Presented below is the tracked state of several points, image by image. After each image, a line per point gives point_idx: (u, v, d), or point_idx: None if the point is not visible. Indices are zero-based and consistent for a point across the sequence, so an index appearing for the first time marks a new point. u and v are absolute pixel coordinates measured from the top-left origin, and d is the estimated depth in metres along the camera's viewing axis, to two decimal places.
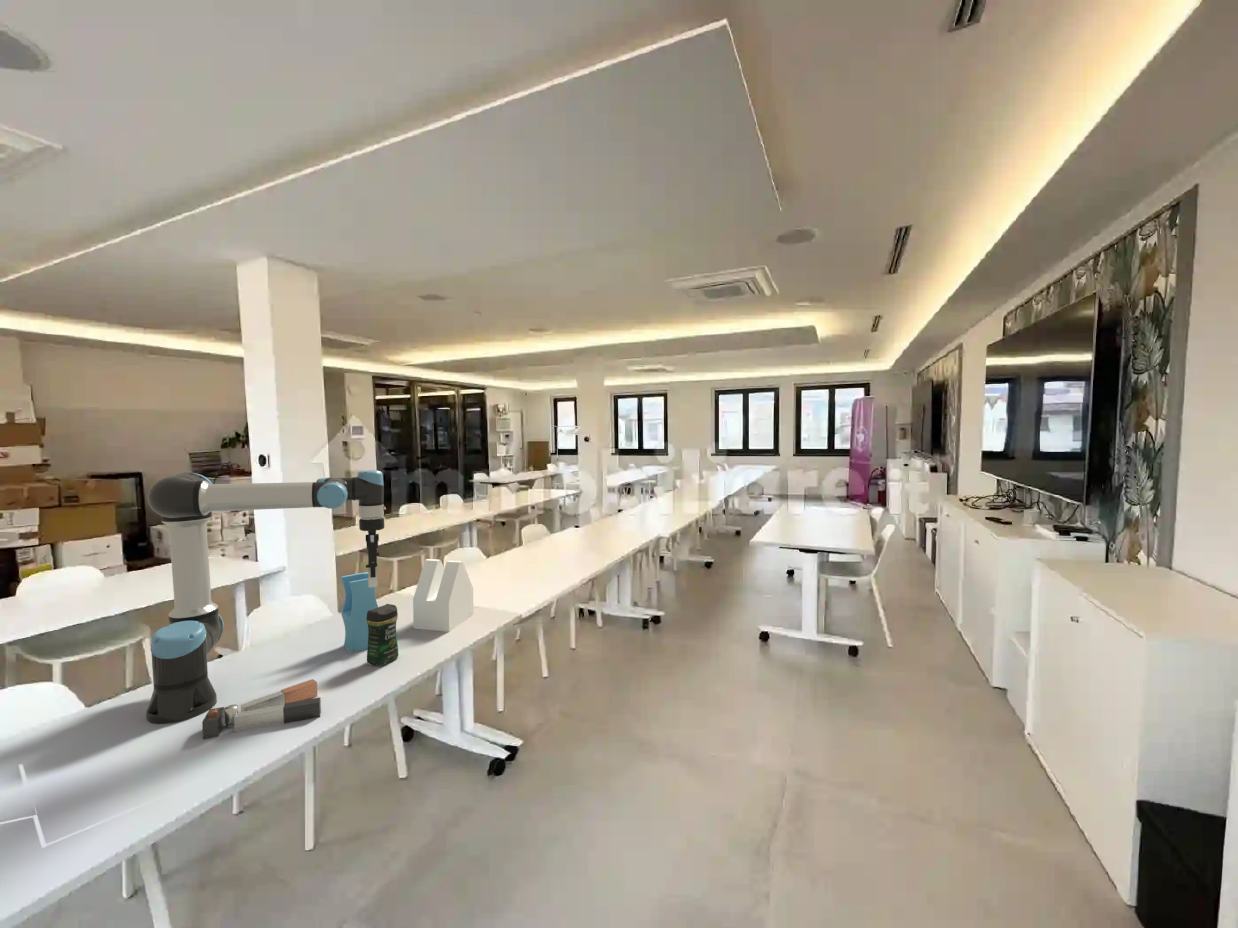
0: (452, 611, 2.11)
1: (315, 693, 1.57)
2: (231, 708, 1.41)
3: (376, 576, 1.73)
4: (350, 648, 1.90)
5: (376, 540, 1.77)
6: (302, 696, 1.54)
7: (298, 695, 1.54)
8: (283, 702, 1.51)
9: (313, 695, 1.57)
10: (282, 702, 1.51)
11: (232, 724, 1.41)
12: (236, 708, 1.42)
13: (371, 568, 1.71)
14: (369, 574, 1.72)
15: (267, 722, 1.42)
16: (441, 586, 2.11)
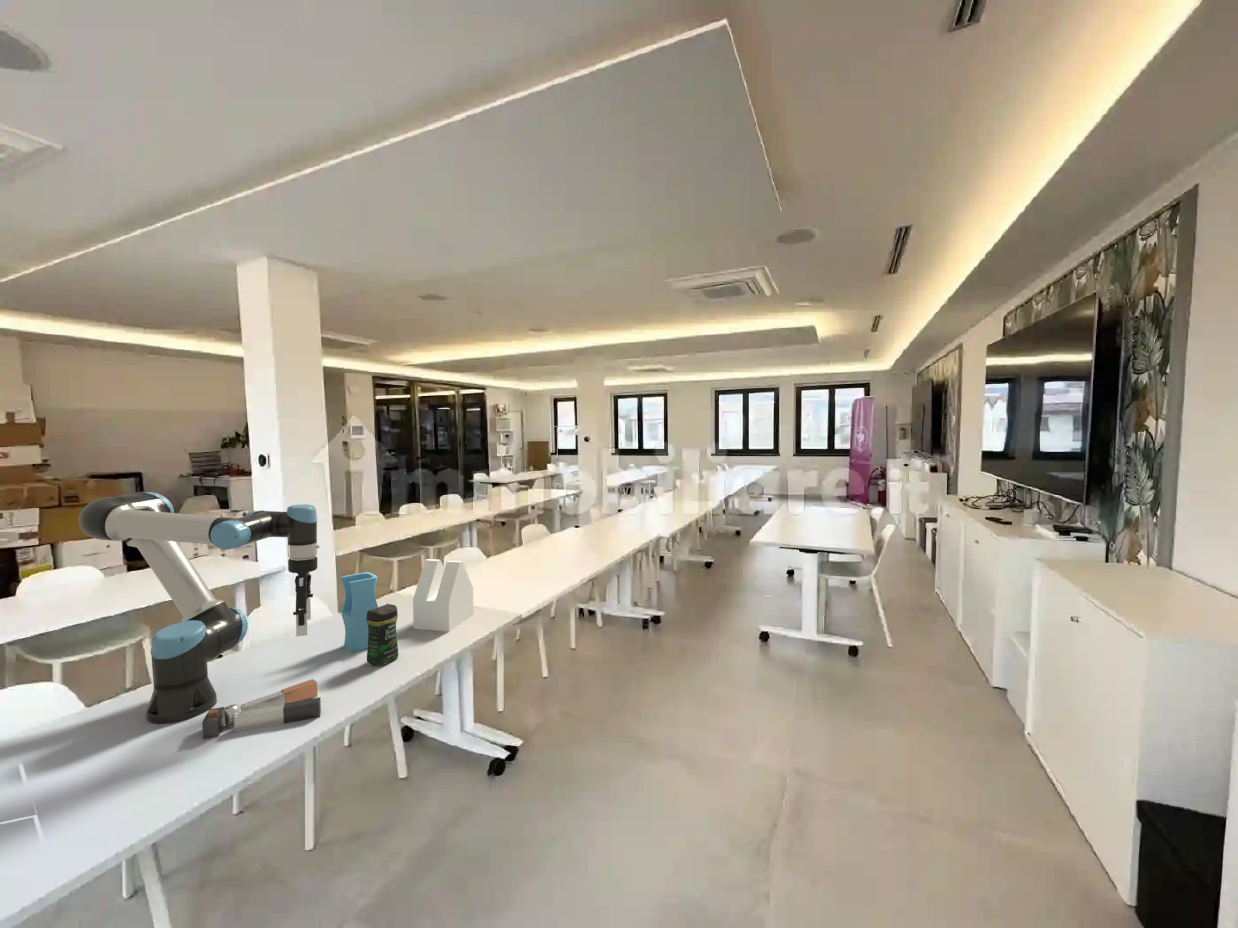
0: (452, 611, 2.11)
1: (315, 693, 1.57)
2: (231, 708, 1.41)
3: (305, 624, 1.56)
4: (350, 648, 1.90)
5: (307, 583, 1.59)
6: (302, 696, 1.54)
7: (298, 695, 1.54)
8: (283, 702, 1.51)
9: (313, 695, 1.57)
10: (282, 702, 1.51)
11: (232, 724, 1.41)
12: (236, 708, 1.42)
13: (299, 615, 1.54)
14: (297, 622, 1.55)
15: (267, 722, 1.42)
16: (441, 586, 2.11)
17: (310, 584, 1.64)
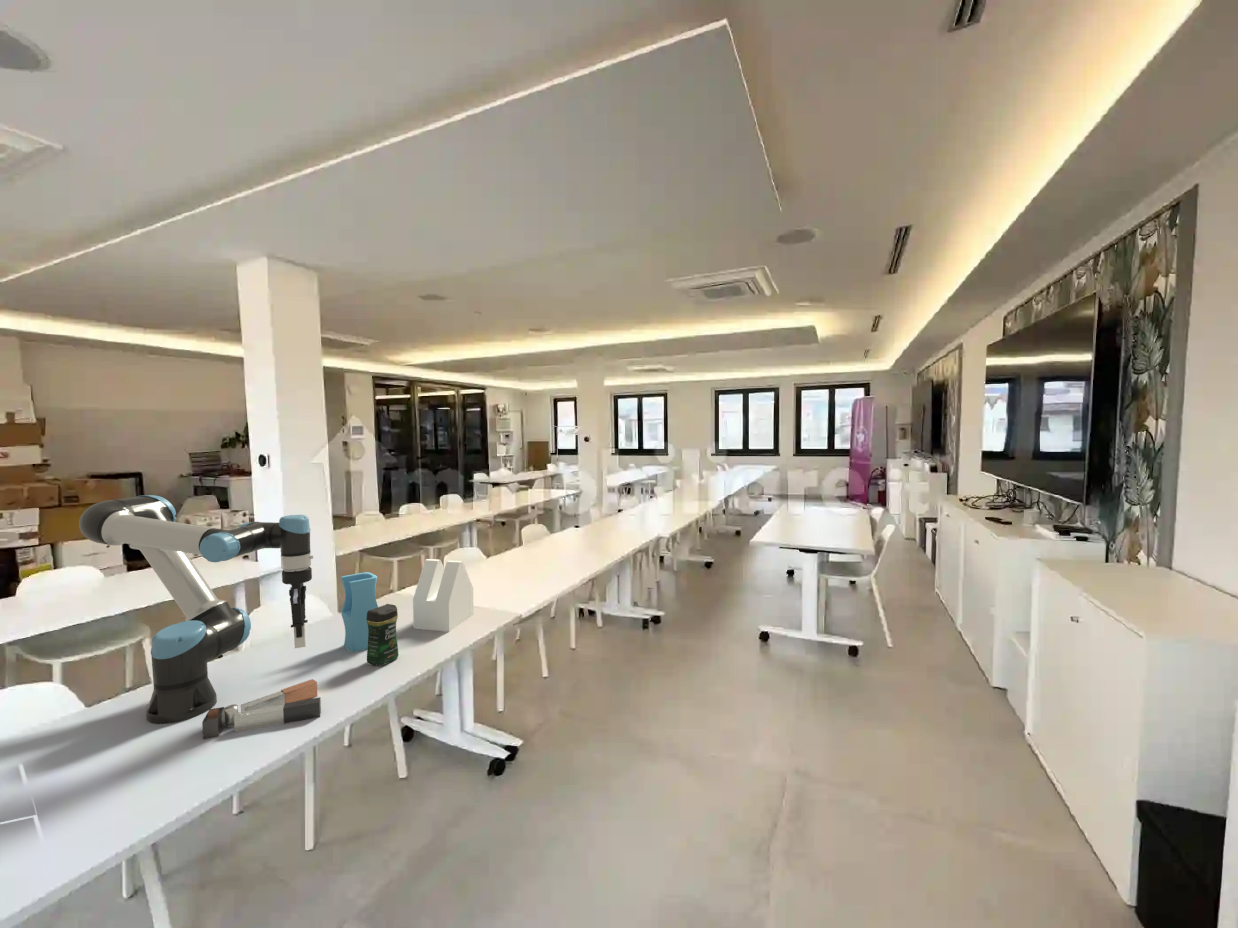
0: (452, 611, 2.11)
1: (315, 693, 1.57)
2: (231, 708, 1.41)
3: (303, 636, 1.60)
4: (350, 648, 1.90)
5: (302, 595, 1.58)
6: (302, 696, 1.54)
7: (298, 695, 1.54)
8: (283, 702, 1.51)
9: (313, 695, 1.57)
10: (282, 702, 1.51)
11: (232, 724, 1.41)
12: (236, 708, 1.42)
13: (297, 628, 1.58)
14: (295, 634, 1.59)
15: (267, 722, 1.42)
16: (441, 586, 2.11)
17: (305, 598, 1.61)
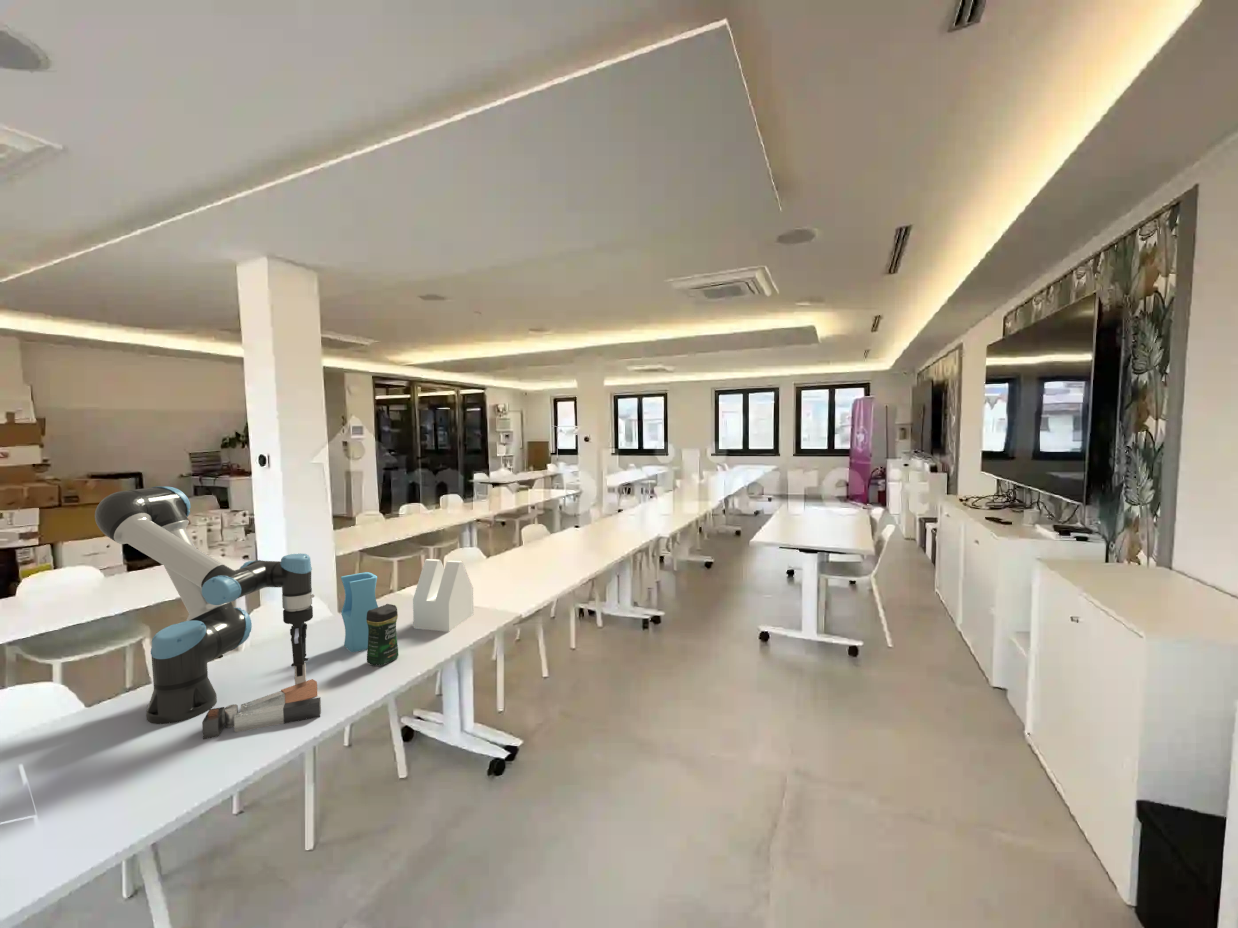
0: (452, 611, 2.11)
1: (315, 693, 1.57)
2: (231, 708, 1.41)
3: (304, 674, 1.61)
4: (350, 648, 1.90)
5: (303, 634, 1.59)
6: (302, 696, 1.54)
7: (298, 695, 1.54)
8: (283, 702, 1.51)
9: (313, 695, 1.57)
10: (282, 702, 1.51)
11: (232, 724, 1.41)
12: (236, 708, 1.42)
13: (297, 666, 1.59)
14: (296, 672, 1.60)
15: (267, 722, 1.42)
16: (441, 586, 2.11)
17: (305, 637, 1.62)
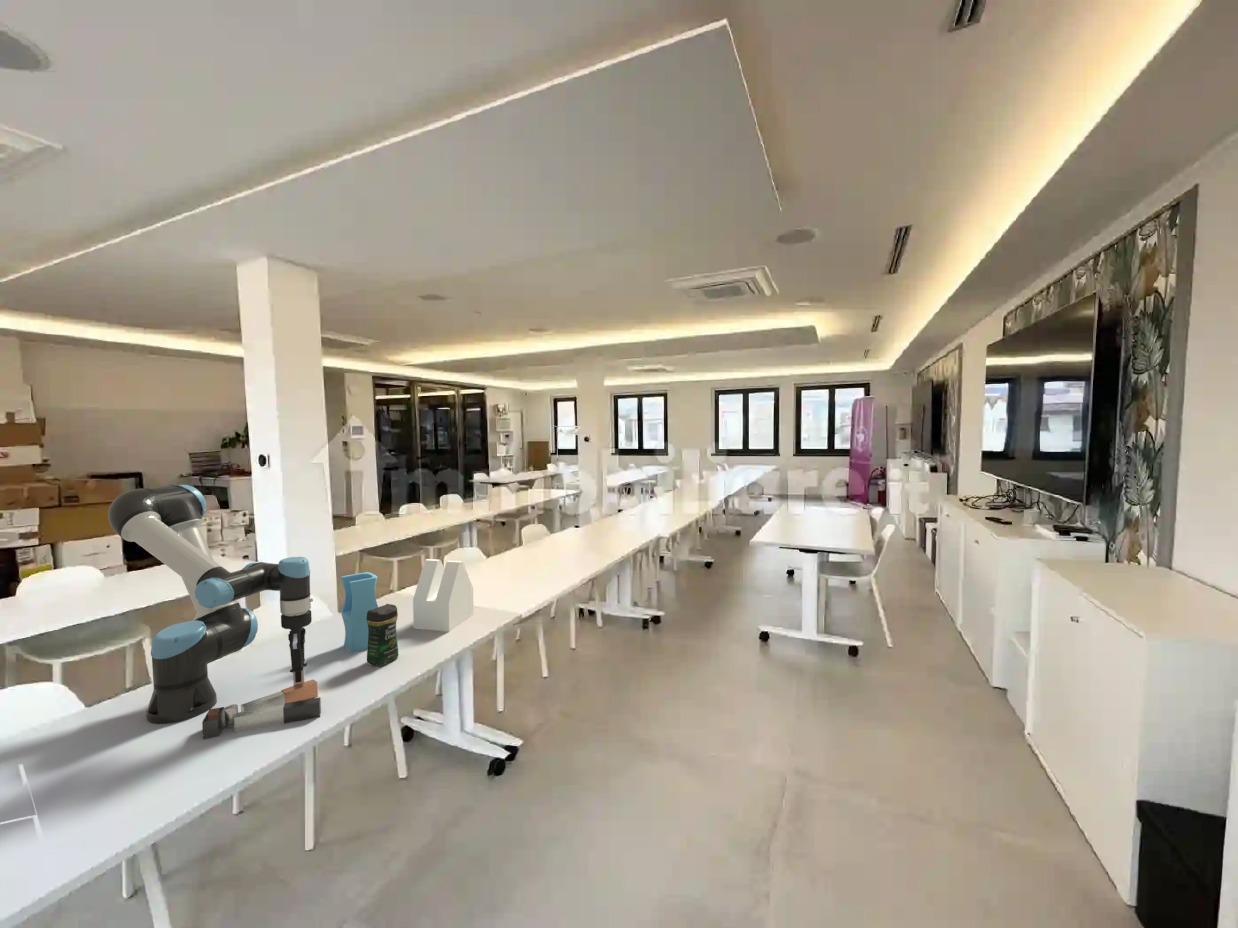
0: (452, 611, 2.11)
1: (315, 693, 1.57)
2: (231, 708, 1.41)
3: (302, 680, 1.57)
4: (350, 648, 1.90)
5: (301, 640, 1.55)
6: (302, 696, 1.54)
7: (298, 696, 1.54)
8: (283, 702, 1.51)
9: (313, 695, 1.57)
10: (282, 702, 1.51)
11: (232, 724, 1.41)
12: (236, 708, 1.42)
13: (296, 672, 1.55)
14: (294, 678, 1.56)
15: (267, 722, 1.42)
16: (441, 586, 2.11)
17: (304, 642, 1.58)
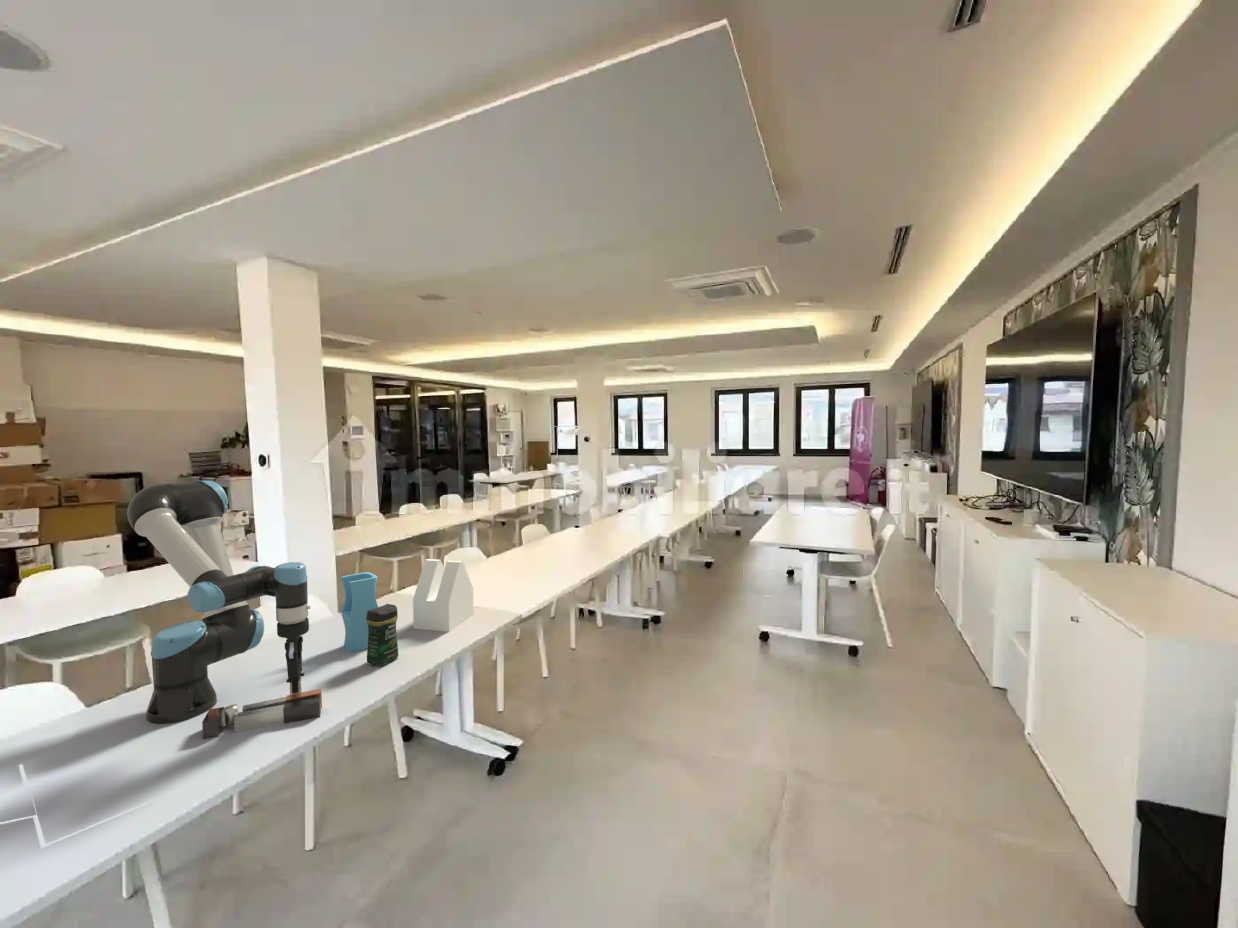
0: (452, 611, 2.11)
1: None
2: (229, 709, 1.41)
3: (299, 690, 1.51)
4: (350, 648, 1.90)
5: (298, 649, 1.49)
6: None
7: None
8: None
9: None
10: None
11: (230, 725, 1.41)
12: (234, 709, 1.42)
13: (293, 683, 1.49)
14: (291, 689, 1.50)
15: (267, 722, 1.42)
16: (441, 586, 2.11)
17: (301, 651, 1.52)
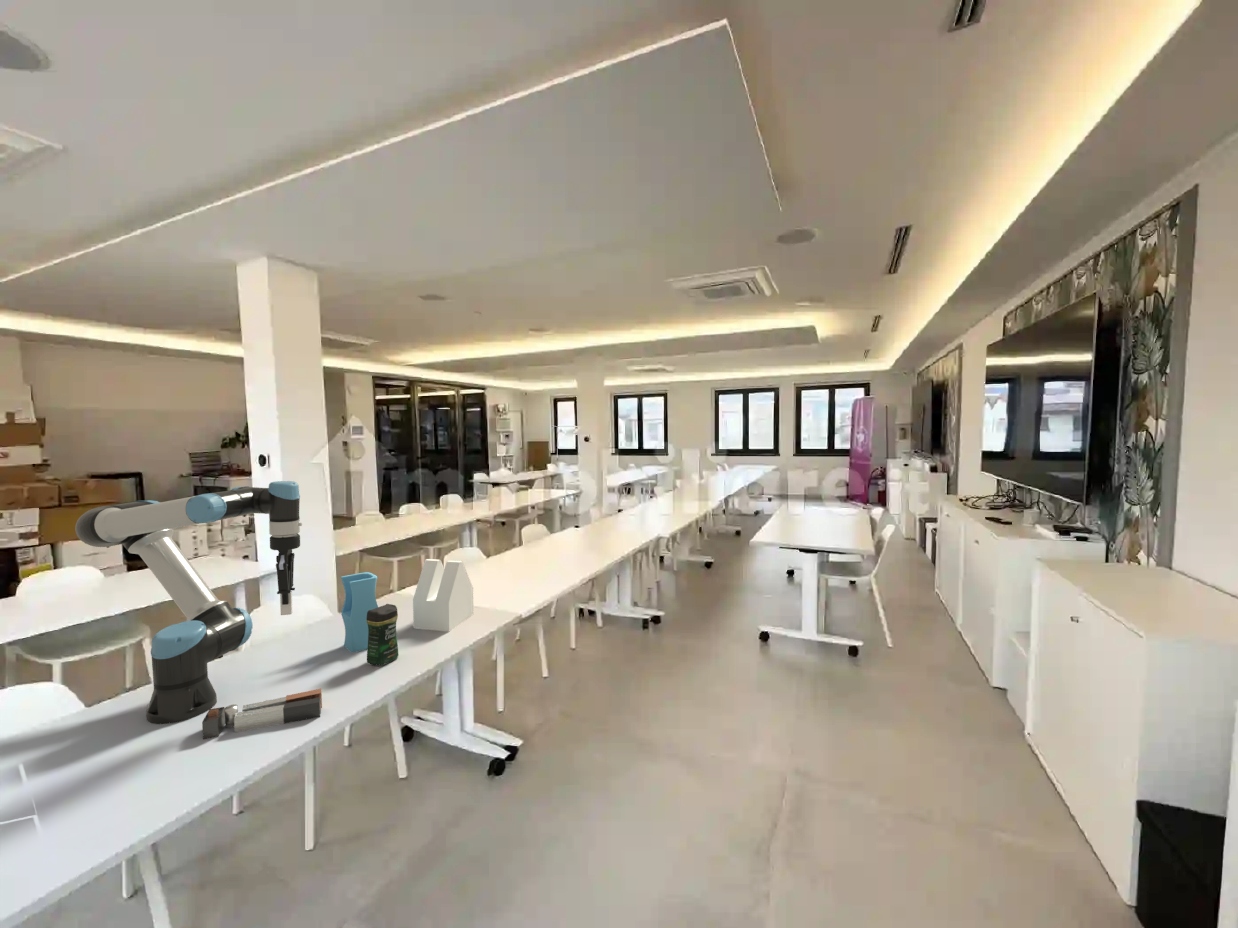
0: (452, 611, 2.11)
1: None
2: (229, 709, 1.41)
3: (289, 603, 1.59)
4: (350, 648, 1.90)
5: (289, 562, 1.57)
6: None
7: None
8: None
9: None
10: None
11: (230, 725, 1.41)
12: (234, 709, 1.42)
13: (283, 594, 1.57)
14: (281, 601, 1.58)
15: (267, 722, 1.42)
16: (441, 586, 2.11)
17: (292, 566, 1.59)
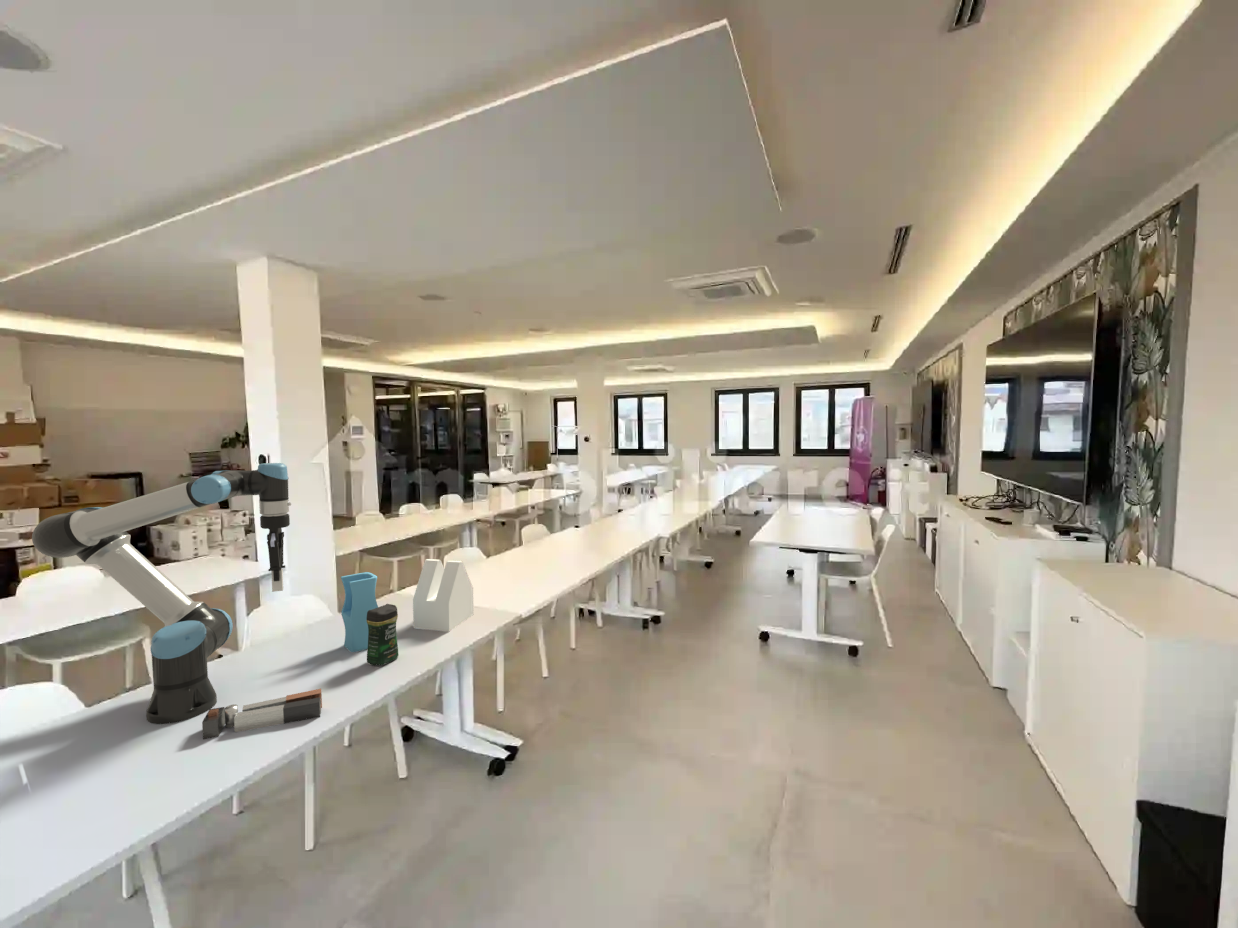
0: (452, 611, 2.11)
1: None
2: (229, 709, 1.41)
3: (280, 580, 1.66)
4: (350, 648, 1.90)
5: (279, 540, 1.64)
6: None
7: None
8: None
9: None
10: None
11: (230, 725, 1.41)
12: (234, 709, 1.42)
13: (274, 571, 1.64)
14: (273, 578, 1.65)
15: (267, 722, 1.42)
16: (441, 586, 2.11)
17: (282, 544, 1.66)
